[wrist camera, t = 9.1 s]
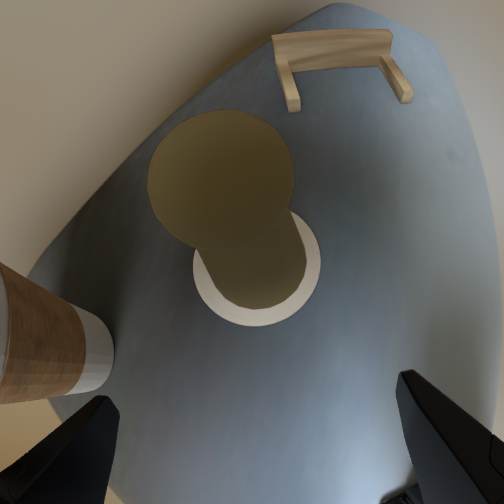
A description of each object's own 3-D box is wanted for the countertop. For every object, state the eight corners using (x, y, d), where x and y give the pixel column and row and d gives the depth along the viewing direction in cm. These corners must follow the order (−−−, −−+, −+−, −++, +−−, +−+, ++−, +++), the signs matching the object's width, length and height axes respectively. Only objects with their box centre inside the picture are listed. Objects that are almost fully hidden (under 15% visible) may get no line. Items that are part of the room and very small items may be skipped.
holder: (410, 102, 23) (420, 69, 19) (288, 112, 24) (285, 76, 20) (383, 60, 25) (388, 29, 21) (276, 68, 26) (271, 35, 22)
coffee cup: (102, 274, 21) (-63, 168, 8) (151, 379, 18) (-71, 362, 4) (34, 328, 21) (-120, 272, 7) (69, 424, 18) (-109, 426, 4)
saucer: (342, 292, 18) (343, 291, 18) (220, 346, 18) (218, 346, 18) (287, 188, 21) (286, 185, 21) (180, 235, 21) (178, 233, 21)
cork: (319, 232, 20) (328, 100, 9) (285, 324, 18) (261, 270, 8) (232, 205, 21) (175, 79, 11) (194, 288, 20) (90, 208, 9)
